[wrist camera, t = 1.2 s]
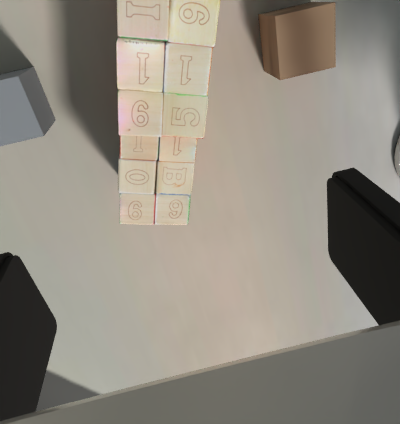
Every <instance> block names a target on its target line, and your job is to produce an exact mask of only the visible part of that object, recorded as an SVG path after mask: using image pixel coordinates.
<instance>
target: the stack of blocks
mask: <svg viewBox="0 0 400 424" xmlns="http://www.w3.org/2000/svg"><path fill="white" fill-rule="evenodd" d="M219 7H220V0H117V33H118V38H117V40H116V67H117V88H118V134H119V135H120V154H119V159H118V192H119V193H120V224H143V225H153V224H163V225H188V219H189V208H190V195H191V193H192V184H193V174H194V163H195V156H196V147H197V138H198V139H203V138H204V133H205V124H206V114H207V105H208V95H207V93H208V86H209V77H210V68H211V59H212V49H213V47H214V46H215V40H216V32H217V23H218V15H219Z"/></svg>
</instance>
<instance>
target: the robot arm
mask: <svg viewBox="0 0 400 424" xmlns="http://www.w3.org/2000/svg"><path fill="white" fill-rule="evenodd" d="M394 158H395V168H396V171H397V174H398V176H399V177H400V136H399V139H398V142H397V145H396V149H395V157H394ZM327 207H328V251H329V255H330V258H331V260H332V262H333V263H334V265H335V266H336V267H337V269H338V270H339V271H340V273H341V274H342V276H343V277H344V278H345V280H346V281H347V282H348V284H349V285H350V286H351V288H352V289H353V290H354V292H355V293H356V295H357V296H358V297H359V299H360V300H361V301H362V303H363V304H364V305H365V307H366V308H367V310H368V311H369V312H370V314H371V315H372V316H373V318H374V319H375V320H376V322H377V323H378V325H379V326H375V327H370V328H366V329H362V330H358V331H353V332H349V333H345V334H341V335H337V336H333V337H328V338H324V339H320V340H316V341H312V342H308V343H304V344H300V345H296V346H292V347H288V348H284V349H280V350H276V351H272V352H268V353H264V354H260V355H256V356H252V357H248V358H244V359H240V360H236V361H232V362H228V363H224V364H220V365H216V366H212V367H208V368H204V369H200V370H196V371H192V372H188V373H184V374H180V375H176V376H172V377H169V378H165V379H161V380H157V381H153V382H149V383H145V384H141V385H137V386H133V387H129V388H125V389H122V390H118V391H114V392H110V393H106V394H102V395H98V396H95V397H91V398H87V399H83V400H79V401H76V402H71V403H68V404H64V405H60V406H56V407H52V408H48V409H44V410H41V411H37V412H35V411H36V408H37V404H38V400H39V396H40V392H41V388H42V384H43V380H44V376H45V373H46V369H47V365H48V361H49V357H50V353H51V350H52V346H53V342H54V338H55V334H56V330H57V324H56V320H55V317H54V316H53V314H52V312H51V311H50V309H49V307H48V305H47V304H46V302H45V300H44V298H43V297H42V295H41V293H40V291H39V290H38V288H37V286H36V285H35V283H34V281H33V279H32V278H31V276H30V274H29V272H28V271H27V269H26V267H25V266H24V264H23V262H22V260H21V259H20V257H18V256H16V255H15V256H13V255H12V254H11V253H9V252H7V253H3V254H0V424H400V203H399V202H398V201H396V200H395V199H394V198H392V197H391V196H390V195H389V194H387V193H386V192H385V191H384V190H382V189H381V188H380V187H378V186H377V185H376V184H375V183H373V182H372V181H371V180H369V179H368V178H367V177H366V176H364V175H363V174H362V173H360V172H359V171H358V170H357V169H355V168H350V169H346V170H342V171H338V172H334V173H333V175H332V178H329V179H328V181H327Z"/></svg>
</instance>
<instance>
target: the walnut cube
mask: <svg viewBox="0 0 400 424" xmlns="http://www.w3.org/2000/svg"><path fill="white" fill-rule="evenodd" d="M258 17H259V27H260V36H261V46H262V56H263V66H264V71H265V72H267V73H269V74H270V75H272V76H274V77H276V78H277V79H279V80H283V79H287V78H291V77H295V76H300V75H304V74H308V73H312V72H316V71H321V70H325V69H329V68H333V67H336V58H335V2H310V3H306V4H301V5H297V6H293V7H288V8H284V9H280V10H276V11H271V12H267V13H263V14H258Z"/></svg>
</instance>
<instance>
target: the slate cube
mask: <svg viewBox="0 0 400 424" xmlns="http://www.w3.org/2000/svg"><path fill="white" fill-rule="evenodd" d="M54 121H55V117H54V115H53V112H52V110H51V108H50V105H49V103H48V100H47V98H46V95H45V93H44V90H43V88H42V85H41V83H40V81H39V78H38V76H37V73H36V71H35V68H34V67H30V68H26V69H22V70H18V71H13V72H9V73H5V74H0V146H3V145H7V144H12V143H16V142H20V141H24V140H29V139H33V138H37V137H41V136H44V135H45V134H46V132H47V131H48V130H49V128H50V127H51V126H52V124H53V123H54Z"/></svg>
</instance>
